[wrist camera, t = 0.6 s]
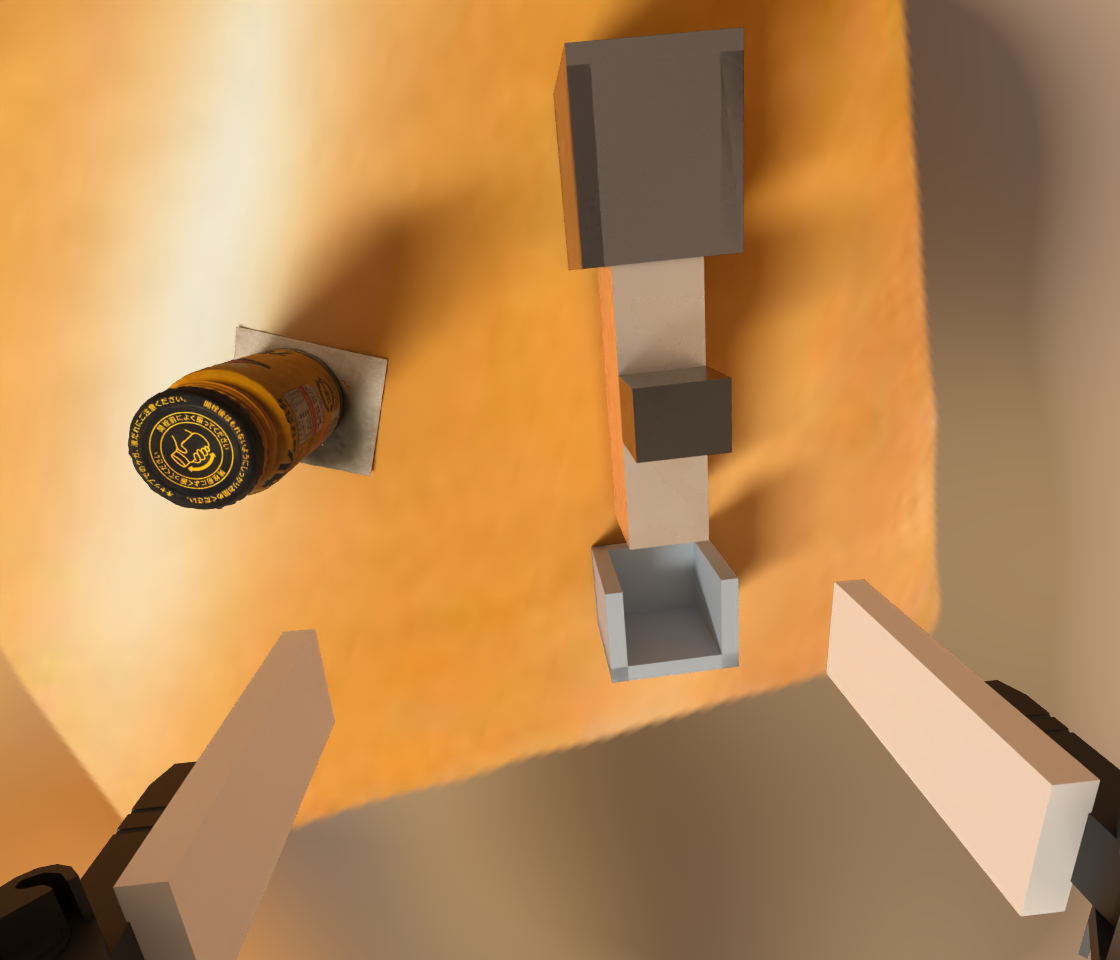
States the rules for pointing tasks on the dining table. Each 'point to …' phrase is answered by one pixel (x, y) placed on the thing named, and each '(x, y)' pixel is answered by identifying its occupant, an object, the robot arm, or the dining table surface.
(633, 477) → the light gray bar
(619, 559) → the socket
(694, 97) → the sleeve
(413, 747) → the dining table surface
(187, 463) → the yellow drink bottle
